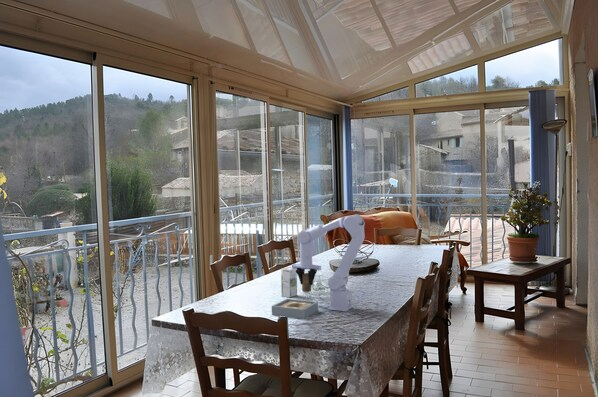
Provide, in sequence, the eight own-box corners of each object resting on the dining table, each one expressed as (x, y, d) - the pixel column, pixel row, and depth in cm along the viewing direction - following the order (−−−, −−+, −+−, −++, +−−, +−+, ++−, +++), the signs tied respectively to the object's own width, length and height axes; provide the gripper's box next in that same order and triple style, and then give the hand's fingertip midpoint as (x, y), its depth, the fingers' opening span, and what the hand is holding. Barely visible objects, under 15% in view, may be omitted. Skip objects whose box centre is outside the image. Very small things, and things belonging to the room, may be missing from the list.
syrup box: (288, 294, 258) (288, 266, 257) (297, 295, 254) (296, 267, 253) (281, 296, 253) (280, 268, 252) (290, 298, 249) (289, 269, 249)
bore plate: (311, 309, 225) (311, 303, 225) (300, 316, 215) (300, 309, 215) (290, 307, 230) (290, 301, 230) (278, 313, 220) (278, 307, 220)
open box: (318, 310, 225) (317, 301, 225) (304, 319, 213) (304, 309, 213) (287, 307, 232) (286, 298, 232) (271, 314, 220) (271, 305, 220)
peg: (312, 290, 236) (312, 273, 236) (308, 292, 232) (308, 275, 232) (305, 289, 238) (304, 272, 237) (301, 291, 234) (300, 274, 234)
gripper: (323, 255, 235) (324, 283, 235) (296, 253, 241) (297, 281, 242) (317, 257, 228) (317, 287, 229) (289, 256, 235) (290, 284, 236)
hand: (306, 284), depth 235 cm, fingers closed on peg, 4 cm apart
